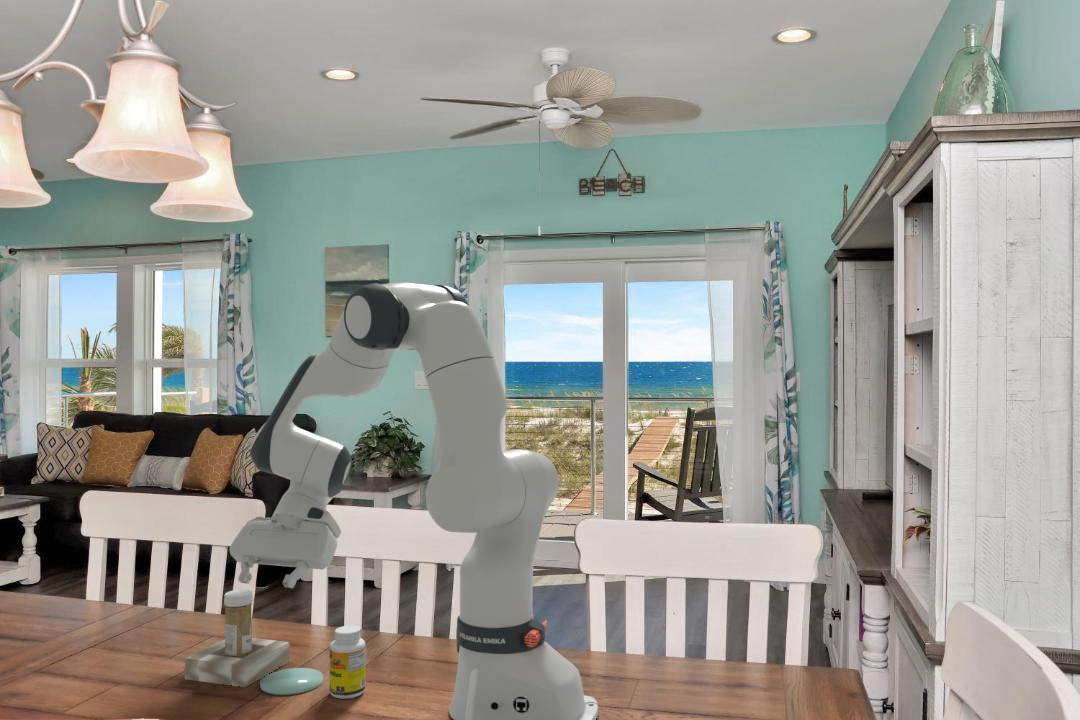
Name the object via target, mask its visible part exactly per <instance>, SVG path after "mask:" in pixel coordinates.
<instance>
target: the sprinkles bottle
mask: <svg viewBox="0 0 1080 720" xmlns="http://www.w3.org/2000/svg"><path fill="white" fill-rule="evenodd" d="M223 596H224V597H223V598H224V599H223V603H224V609H225V610H224V611H225V612H224V613H225V615H224V617H225V618H224V620H225V623H224V639H225V653H226V656H227V657H235V658H244V657H246V656H248V655H250V654H252V638H253V623H252V605H253V591H252V590H250V589H243V588H242V589H234V590H229V591H227V592H225V594H224V595H223Z"/></svg>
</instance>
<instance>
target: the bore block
mask: <svg viewBox="0 0 1080 720" xmlns="http://www.w3.org/2000/svg"><path fill="white" fill-rule="evenodd" d="M288 662H289V663H290V642H289V641H282V640H276V639H267V638H258V637H252V654H250V655H248V656H246V657H244V658H235V657H227V656H226V653H225V638H224V639H221V640H219V641H218V642H215V643H214V644H211V645H210V646H207V647H205V648H203V649H201V650H198V651H196V652H195V653H193V654H191V655H189V656H186V657H184V680H188V681H195V682H203V683H210V684H217V685H223V684H224V685H225V686H230V685H232V686H231V687H238V686H240V687H239V688H245V687H246V688H248V687H250V686H251V685H253V684H255V683H256V682H258V681H259V679H260V680H262V678H264V676H267V675H268V674H269V673H270V674H271V672H272V673H273V672H275V671H276V669H277V670H278V669H280V668H281V666H282V667H283V666H285V665H287V664H289V663H288ZM279 667H280V668H279ZM274 670H275V671H274ZM257 680H258V681H257ZM255 681H256V682H255ZM252 683H253V684H252ZM250 684H251V685H250ZM247 686H248V687H247Z"/></svg>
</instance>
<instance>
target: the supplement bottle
mask: <svg viewBox="0 0 1080 720" xmlns="http://www.w3.org/2000/svg"><path fill="white" fill-rule="evenodd" d="M333 638H334V640H333V641H331V642H330V644H329V694H330V695H331V696H332V697H333V698H336V699H341V700H348V699H355V698H358V697H359V696H361V695H362V694H364V692H365V690H366V641H365V640H364V639H363V638H361V628H360V627H359V626H357V625H343V626H339V627H337V628H336V629H335V630H334V637H333Z"/></svg>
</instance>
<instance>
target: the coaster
mask: <svg viewBox="0 0 1080 720" xmlns="http://www.w3.org/2000/svg"><path fill="white" fill-rule="evenodd" d="M323 682H324V674H323V673H322V672H321V671H320V670H317V669H314V668H311V667H310V668H309V667H308V668H307V667H293V668H285V669H280V670H277V671H276V670H275V671H273V672H272V673H270V674H268V675H266V676H265V677H263V678H261V679H260V681H259V689H260V688H261V689H260V690H261V691H262V692H263V693H266V694H269V695H275V696H288V695H289V696H290V695H291V696H292V695H297V694H302V693H306V692H309V691H312V690H314V689H316V688H318V687H320V686H321V685H322V684H323Z"/></svg>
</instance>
